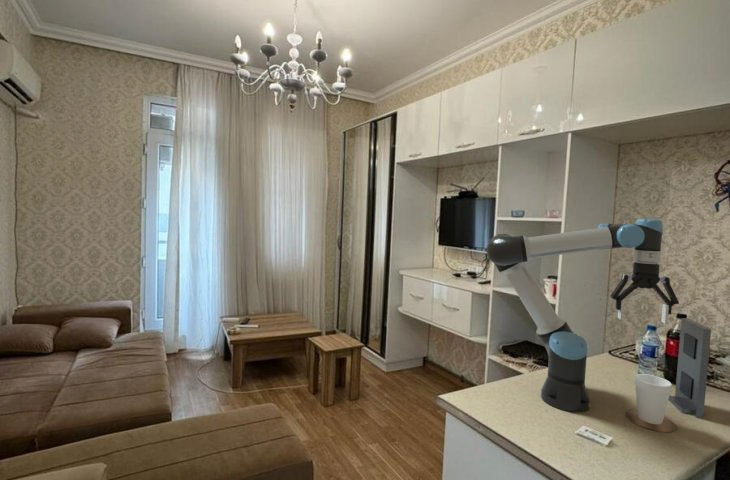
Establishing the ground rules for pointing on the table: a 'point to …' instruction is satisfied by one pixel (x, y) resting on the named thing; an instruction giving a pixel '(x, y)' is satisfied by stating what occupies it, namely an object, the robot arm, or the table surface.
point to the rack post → (692, 368)
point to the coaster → (664, 427)
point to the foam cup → (652, 397)
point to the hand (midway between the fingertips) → (641, 320)
